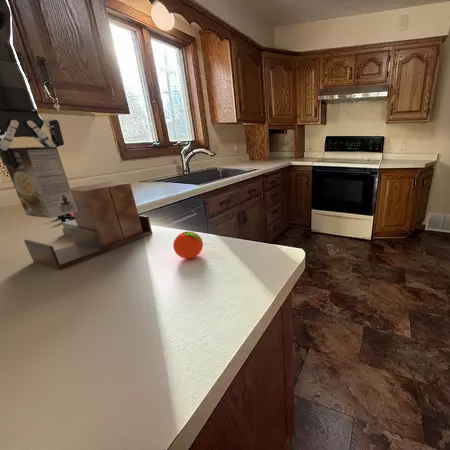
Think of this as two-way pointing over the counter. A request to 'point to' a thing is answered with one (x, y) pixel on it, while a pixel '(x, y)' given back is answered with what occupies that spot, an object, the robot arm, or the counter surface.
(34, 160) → the coffee box
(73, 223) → the grey book pile
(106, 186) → the book rack
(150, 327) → the counter surface
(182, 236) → the clementine
